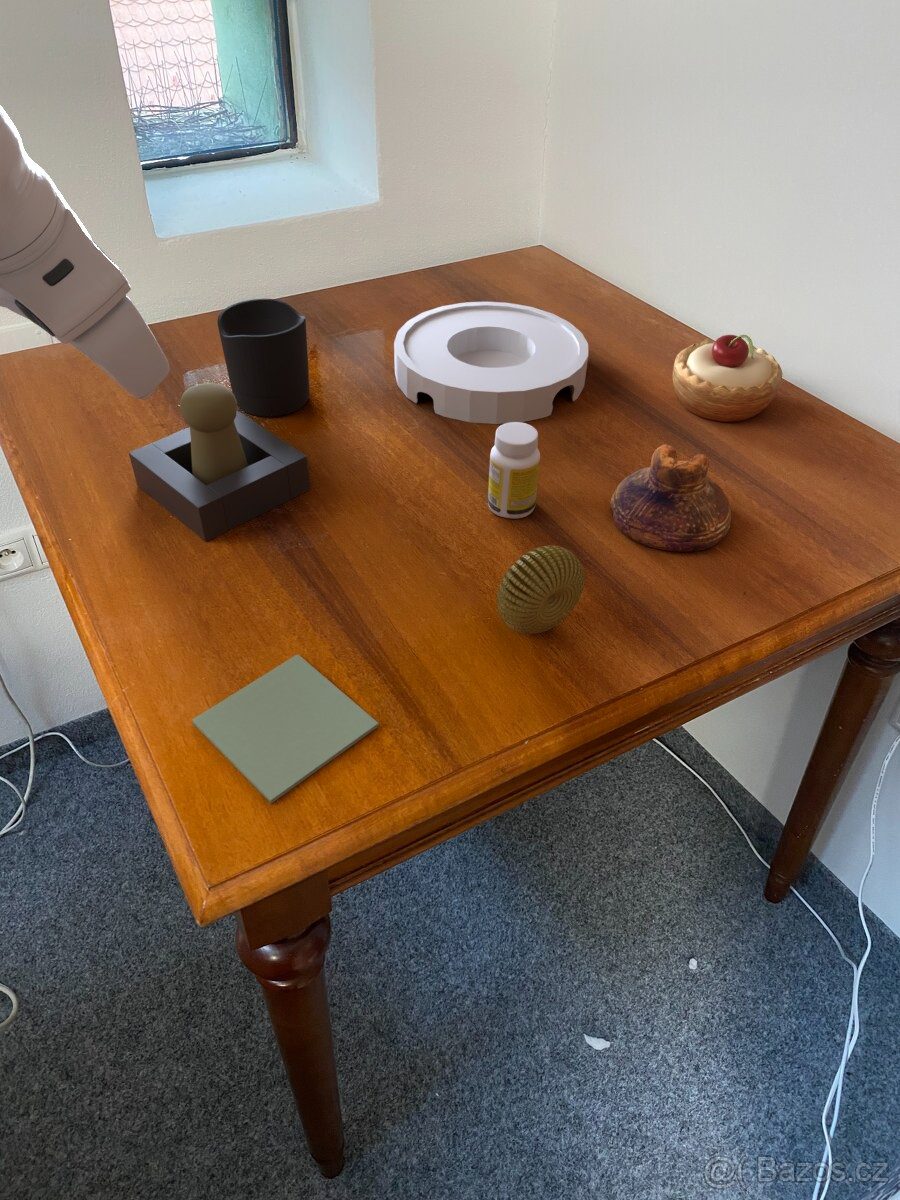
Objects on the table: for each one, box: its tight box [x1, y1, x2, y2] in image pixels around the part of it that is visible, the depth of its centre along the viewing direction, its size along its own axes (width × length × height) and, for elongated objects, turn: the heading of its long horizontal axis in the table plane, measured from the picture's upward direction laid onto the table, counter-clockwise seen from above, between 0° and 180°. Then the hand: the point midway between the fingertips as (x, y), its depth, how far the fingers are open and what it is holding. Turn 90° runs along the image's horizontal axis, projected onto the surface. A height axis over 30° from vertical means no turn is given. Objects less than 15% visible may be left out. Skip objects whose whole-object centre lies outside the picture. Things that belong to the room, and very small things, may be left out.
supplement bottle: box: [487, 422, 541, 520], centre depth 84 cm, size 5×5×8 cm
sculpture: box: [496, 544, 585, 635], centre depth 72 cm, size 8×4×8 cm, turn 123°
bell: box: [609, 443, 733, 553], centre depth 84 cm, size 12×12×7 cm
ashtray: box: [393, 301, 589, 425], centre depth 106 cm, size 23×23×4 cm
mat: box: [191, 653, 380, 804], centre depth 66 cm, size 10×10×1 cm
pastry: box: [671, 334, 783, 423], centre depth 100 cm, size 12×12×9 cm
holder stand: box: [128, 409, 311, 543], centre depth 87 cm, size 12×12×4 cm
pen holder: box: [217, 298, 310, 418], centre depth 98 cm, size 9×9×10 cm
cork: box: [179, 382, 248, 486], centre depth 85 cm, size 6×6×11 cm
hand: (113, 361), depth 76 cm, fingers open, 8 cm apart
